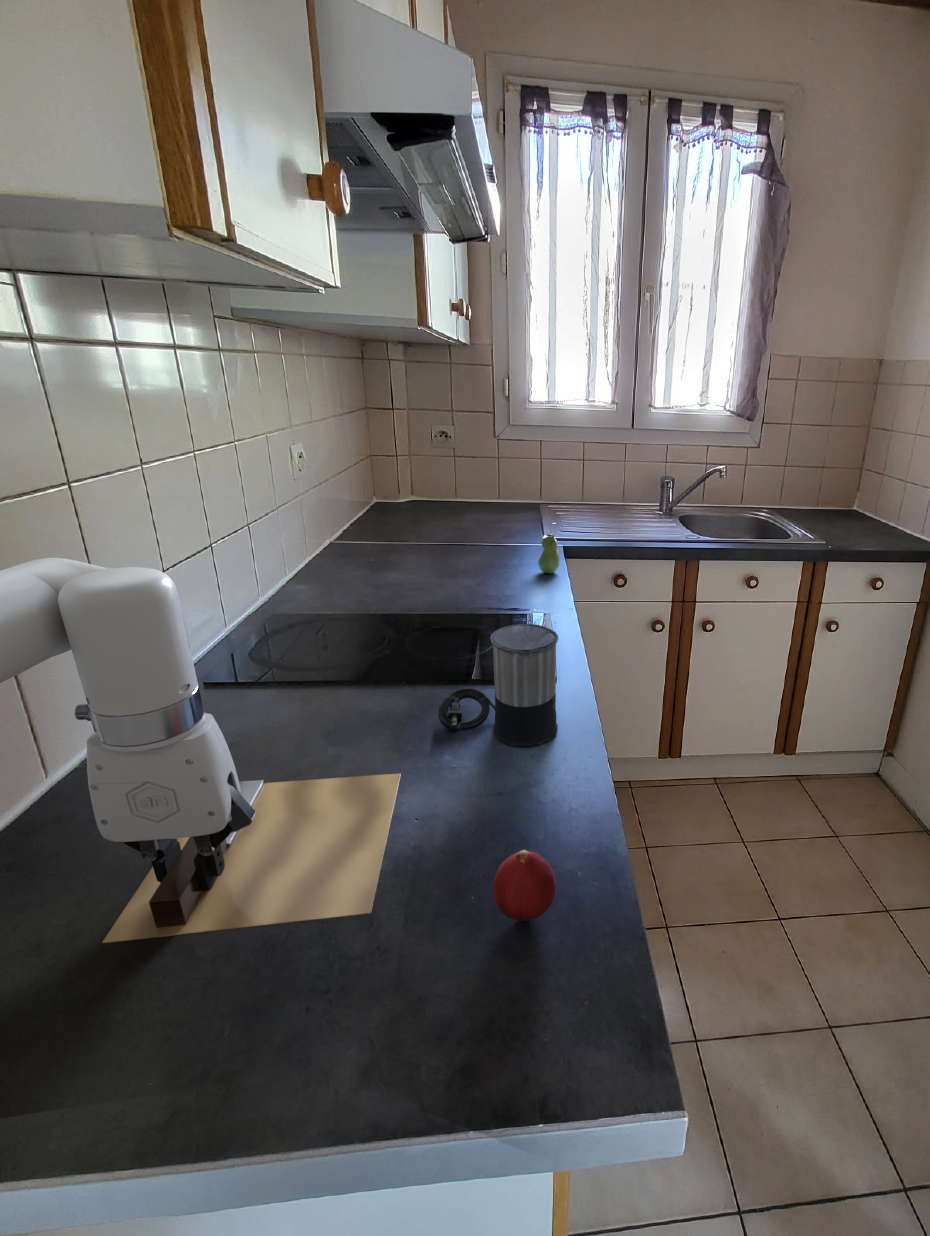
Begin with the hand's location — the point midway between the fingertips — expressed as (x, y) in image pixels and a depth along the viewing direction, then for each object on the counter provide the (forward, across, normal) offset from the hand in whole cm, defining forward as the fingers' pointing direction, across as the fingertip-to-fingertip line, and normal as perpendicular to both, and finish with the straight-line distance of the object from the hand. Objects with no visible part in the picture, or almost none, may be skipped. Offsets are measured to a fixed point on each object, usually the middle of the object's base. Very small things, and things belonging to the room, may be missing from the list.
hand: (193, 880), depth 61 cm
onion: (+2, +31, -7) cm, 32 cm away
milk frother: (+2, +29, +28) cm, 40 cm away
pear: (+2, +42, +101) cm, 110 cm away
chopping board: (+2, +6, +5) cm, 8 cm away
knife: (0, 0, +6) cm, 6 cm away
